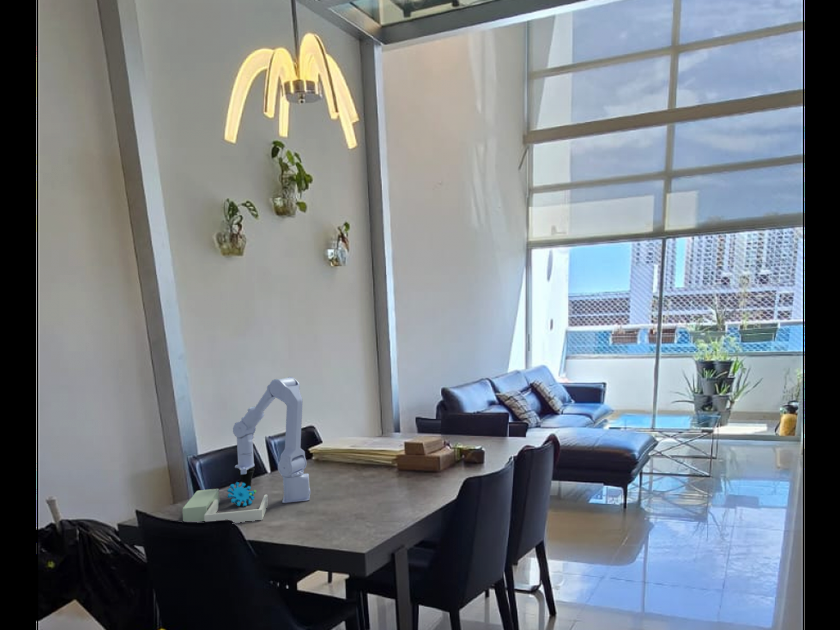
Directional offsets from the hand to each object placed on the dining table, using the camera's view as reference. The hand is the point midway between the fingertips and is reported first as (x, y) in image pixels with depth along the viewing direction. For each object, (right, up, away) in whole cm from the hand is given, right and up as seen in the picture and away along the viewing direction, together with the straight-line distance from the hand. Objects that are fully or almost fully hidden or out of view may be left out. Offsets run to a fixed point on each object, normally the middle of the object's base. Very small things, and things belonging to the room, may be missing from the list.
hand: (247, 489), depth 223 cm
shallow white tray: (+4, -2, -23) cm, 23 cm away
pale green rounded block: (-10, -3, -19) cm, 21 cm away
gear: (+2, -2, -11) cm, 12 cm away
